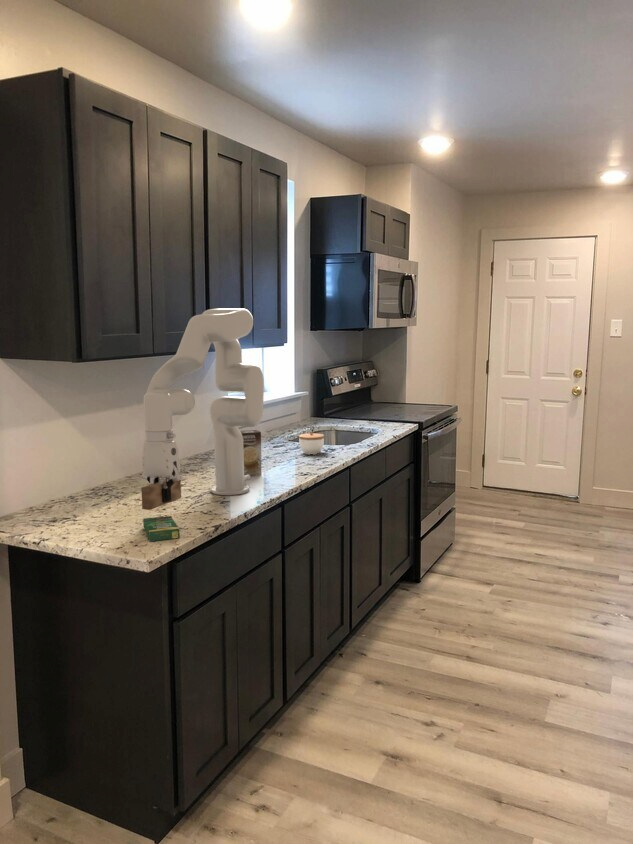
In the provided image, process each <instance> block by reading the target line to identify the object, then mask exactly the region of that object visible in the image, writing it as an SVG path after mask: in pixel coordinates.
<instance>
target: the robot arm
mask: <svg viewBox="0 0 633 844" xmlns="http://www.w3.org/2000/svg"><path fill="white" fill-rule="evenodd" d="M253 326H254V318H253V315H252V313H251V312H250V311H249V310H248V309H246V308H239V307H238V308H211V309H207V310H204V311H203V312H202V313H201V314H196V315H194V316H192V317H191V318H190V319H189V320H188V323H187V326H186V327H185V331H184V333H183V336H182V338H181V340H180V343H179V346H178V348H177V351H176V353H175V355H174V356H173V357H171V358H170V359H168V360H167V361H166V362H165V363H164V364H162V366H161V367H160V368H158V369H157V370H156V371H155V372H154V374H153V376H152V378H151V379H150V382H149V385H148V387H147V390H146V393H145V394H144V395H143V418H144V419H143V420H144V421H143V422H144V438H145V440H144V441H143V445H142V459H141V460H142V474H141V476H142V477H141V478H144V479H145V480H147V481H148V482H147V483H149V485H151V484H154V483H157V482H160V481H161V480H160V479H161V478H162V481H163V489H162V502H163V503H165V502H168V501H170V500H171V487H172V486H173V484H174V483H175V482H176V481H179V480H180V479H181V476H180V474H181V465H180V464H181V462H180V455H179V450H178V449H179V448H178V444H177V442H176V440H174V439H175V438H176V436H177V435H176V433H175V432H174V429H173V426H174V425H173V416H186V415H188V414H190V413H191V412H192V411H193V409H194V408H195V406H196V399H195V396H194V394H193V393H192V392H191V391H189V390H187V389H185V388H173V387H172V388H171V387H170V386H171V385H172V384H173V383H174V382H175V381H178V379H180V378H182V377H184V376H186V375H187V376H188V375H190V374H192V373H194V372H196V371H198V370H200V369H201V368H203V366H204V364H205V361H206V359H207V356H208V353H209V350H210V348H211V345H212V344H213V346H214V351H215V352H214V353H215V361H214V363H215V364H214V365H215V372H214V374H215V375H214V376H215V377H214V378H215V386H216V389H218V390H219V392H224V393H233V394H234V393H237V394H241V393H242V394H244V397H243V396H228V395H227V396H220V397H216V398H215V399H213V401H212V402H211V403H210V408H209V415H210V419H211V423H212V429H213V430H212V431H213V437H214V439H213V442H214V443H213V445H214V467H215V468H214V470H215V485H214V486H212V487H211V488H210V489H211V490H210V492H211V493H212V494H214V495H217V496H218V495H219V496H237V495H243V494H245V493H248V492H249V491H250V486H249V485H248V484H246V482H247V481H250V479H251V476H250V475H248V474H247V475H244V450H243V436H242V434H241V432H240V431H241V430H240V428H239V427H245V428H246V427H247V428H255V427H257V426H259V425H260V423H261V422H262V420H263V416H264V395H265V394H264V393H265V392H264V388H265V387H264V386H265V385H264V383H265V381H264V374H263V370H262V369H261V368H260V366H259V365H257V364H255V363H243V360H242V359H243V355H242V353H243V352H242V346H241V344H240V342H239V339H241V338H244V337H246V336H248V335H249V334H250V333H251V332H252V329H253ZM167 479H168V482H167ZM181 480H182V479H181Z"/></svg>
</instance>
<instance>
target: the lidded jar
mask: <svg viewBox="0 0 633 844" xmlns="http://www.w3.org/2000/svg"><path fill="white" fill-rule="evenodd" d="M298 439H299V441H298V442H299V447H300V450H301V451H302V452H303V453H304V454H305V455H310V454H313V455H318V454H317V453H319V454H320V452H321V451H322V450H323V447H324V443H325V434H323V433H317V432H316V433H315V432H314V431H310V433H308V432H307V433H301V434H299V435H298Z"/></svg>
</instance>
